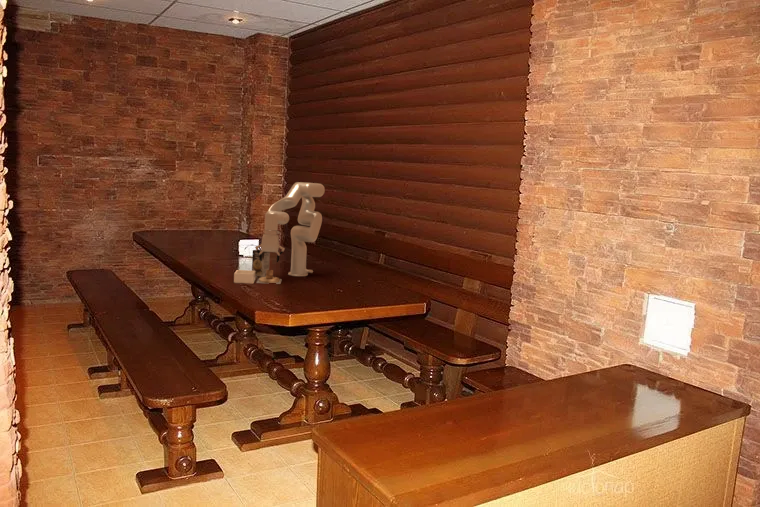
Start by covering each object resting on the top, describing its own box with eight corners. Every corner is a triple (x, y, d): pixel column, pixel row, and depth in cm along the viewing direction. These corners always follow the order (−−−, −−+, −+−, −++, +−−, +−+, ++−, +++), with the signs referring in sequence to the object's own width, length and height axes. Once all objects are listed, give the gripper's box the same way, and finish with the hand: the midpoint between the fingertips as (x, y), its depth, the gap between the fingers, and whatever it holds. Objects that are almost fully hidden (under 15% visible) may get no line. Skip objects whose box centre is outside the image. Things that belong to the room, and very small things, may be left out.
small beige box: (255, 280, 376) (255, 270, 375) (253, 284, 365) (253, 274, 364) (236, 279, 375) (236, 269, 374) (233, 283, 364) (234, 273, 363)
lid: (280, 279, 382) (280, 269, 381) (278, 283, 370) (279, 272, 369) (260, 278, 380) (260, 268, 380) (258, 282, 369) (258, 271, 368)
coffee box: (251, 275, 391) (252, 250, 388) (257, 274, 396) (258, 249, 394) (262, 277, 386) (263, 251, 384) (269, 276, 392) (270, 250, 390)
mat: (281, 279, 383) (281, 279, 383) (280, 284, 369) (280, 283, 369) (258, 278, 381) (258, 278, 381) (256, 283, 368) (256, 282, 368)
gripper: (285, 233, 375) (284, 261, 377) (256, 231, 374) (255, 259, 376) (285, 234, 368) (283, 263, 370) (255, 232, 366) (253, 261, 368)
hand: (269, 261), depth 373 cm, fingers open, 9 cm apart
